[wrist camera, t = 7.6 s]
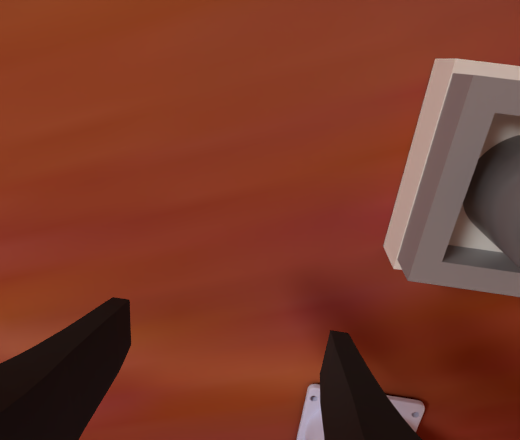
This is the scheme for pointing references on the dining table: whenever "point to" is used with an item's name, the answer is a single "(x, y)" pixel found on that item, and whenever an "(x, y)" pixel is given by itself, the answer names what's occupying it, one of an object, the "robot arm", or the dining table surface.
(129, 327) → the robot arm
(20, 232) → the dining table surface
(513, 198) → the gray domed cylinder
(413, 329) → the dining table surface
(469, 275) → the grey square tray
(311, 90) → the dining table surface
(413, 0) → the dining table surface
